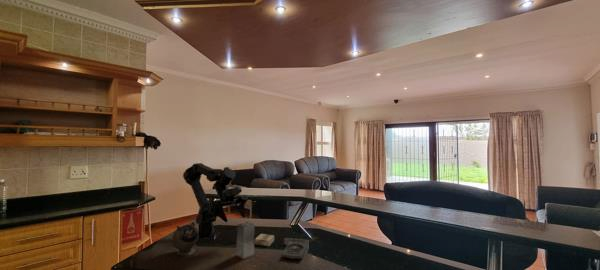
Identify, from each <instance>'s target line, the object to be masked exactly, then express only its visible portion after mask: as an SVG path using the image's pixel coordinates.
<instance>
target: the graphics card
mask: <svg viewBox="0 0 600 270" xmlns="http://www.w3.org/2000/svg"><path fill="white" fill-rule="evenodd" d="M283 239H284V243H283V244H284V245H286V247H285V248H284V250H283V251H282V253H281V258H288V259H299V260H301V259H303V257H304V255H305V254H306V255H307V253H308V251H309V248H310V247H309V245H310V243H309V241H310V239H303V238H290V237H286V238H283Z"/></svg>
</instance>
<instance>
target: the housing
mask: <svg viewBox="0 0 600 270" xmlns="http://www.w3.org/2000/svg"><path fill="white" fill-rule="evenodd" d="M255 226H256V225H255V223H253V222H249V221H246V222H242V223H239V224H237V237H236V253H235V254H236V255H235V256H237V257H239V258H240V259H243V260H244V259H247V258H249V257H252V256H254V255H255Z"/></svg>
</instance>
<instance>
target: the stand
mask: <svg viewBox="0 0 600 270" xmlns="http://www.w3.org/2000/svg"><path fill="white" fill-rule="evenodd" d="M274 242H275V235H273V234H267V233H266V234H265V233H260V234H259V235H258V236H257V237H256V238H254V245H258V246H264V247H270V246H271V245H272V243H274Z"/></svg>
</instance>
